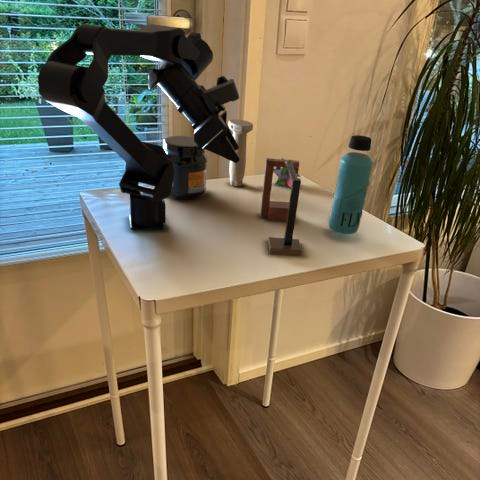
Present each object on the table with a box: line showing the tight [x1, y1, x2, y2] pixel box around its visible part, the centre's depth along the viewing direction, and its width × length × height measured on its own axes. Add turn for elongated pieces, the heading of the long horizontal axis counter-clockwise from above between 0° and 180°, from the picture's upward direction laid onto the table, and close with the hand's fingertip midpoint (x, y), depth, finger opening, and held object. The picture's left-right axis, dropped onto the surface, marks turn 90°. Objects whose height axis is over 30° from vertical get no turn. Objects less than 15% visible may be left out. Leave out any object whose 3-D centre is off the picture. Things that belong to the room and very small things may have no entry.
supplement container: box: [162, 135, 209, 200], centre depth 116 cm, size 10×10×12 cm
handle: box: [228, 118, 254, 187], centre depth 124 cm, size 5×6×15 cm
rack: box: [267, 159, 303, 257], centre depth 99 cm, size 6×16×14 cm, turn 1°
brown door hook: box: [259, 157, 300, 222], centre depth 108 cm, size 7×4×12 cm, turn 91°
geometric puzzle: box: [273, 157, 301, 189], centre depth 129 cm, size 7×7×8 cm
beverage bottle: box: [328, 134, 374, 235], centre depth 101 cm, size 6×7×20 cm
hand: (237, 155), depth 104 cm, fingers open, 9 cm apart
